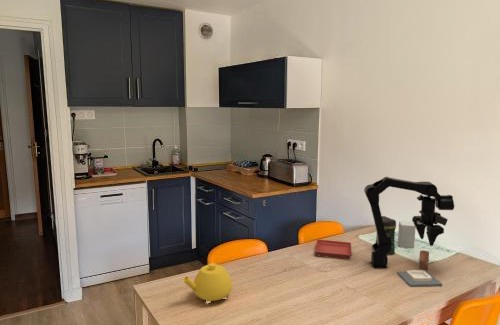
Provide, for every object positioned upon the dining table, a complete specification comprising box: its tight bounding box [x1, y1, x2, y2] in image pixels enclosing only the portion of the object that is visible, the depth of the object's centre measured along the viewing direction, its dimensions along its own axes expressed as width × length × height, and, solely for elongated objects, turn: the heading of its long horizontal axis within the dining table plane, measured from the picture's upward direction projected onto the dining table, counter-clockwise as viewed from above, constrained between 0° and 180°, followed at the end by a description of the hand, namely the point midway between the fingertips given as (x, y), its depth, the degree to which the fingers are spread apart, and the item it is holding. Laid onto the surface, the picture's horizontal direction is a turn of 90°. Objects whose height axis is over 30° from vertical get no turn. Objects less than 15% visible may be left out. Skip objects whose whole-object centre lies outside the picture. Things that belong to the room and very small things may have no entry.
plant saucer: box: [314, 239, 353, 259], centre depth 200 cm, size 18×18×3 cm
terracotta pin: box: [418, 250, 430, 271], centre depth 179 cm, size 4×4×8 cm
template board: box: [396, 269, 443, 288], centre depth 168 cm, size 14×13×2 cm
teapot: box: [182, 262, 233, 302], centre depth 151 cm, size 20×16×14 cm
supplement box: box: [397, 221, 416, 249], centre depth 208 cm, size 7×7×13 cm
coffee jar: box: [375, 215, 397, 256], centre depth 199 cm, size 10×8×19 cm
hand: (426, 242), depth 177 cm, fingers open, 9 cm apart
